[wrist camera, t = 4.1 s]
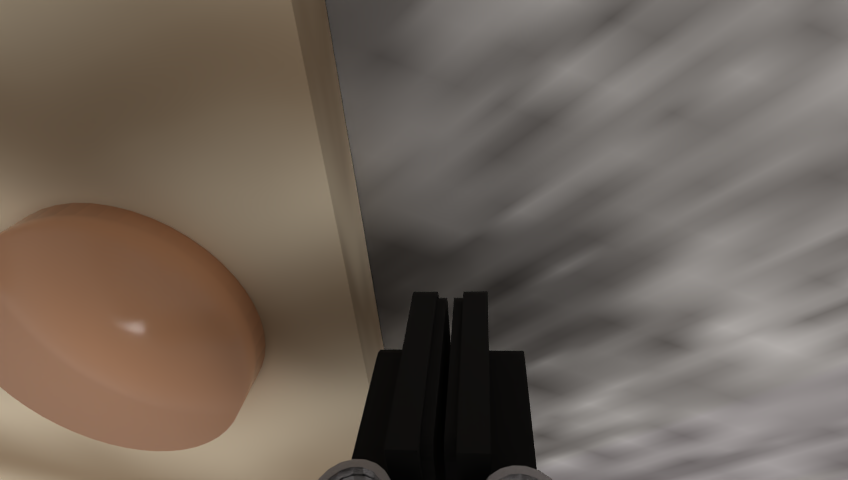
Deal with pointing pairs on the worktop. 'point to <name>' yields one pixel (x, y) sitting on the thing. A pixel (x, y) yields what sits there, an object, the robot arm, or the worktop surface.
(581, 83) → the worktop surface
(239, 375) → the brown round disc
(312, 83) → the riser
